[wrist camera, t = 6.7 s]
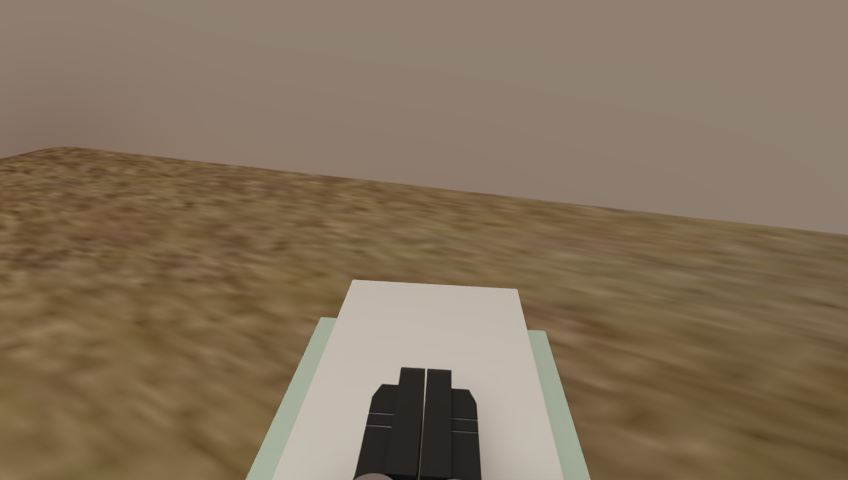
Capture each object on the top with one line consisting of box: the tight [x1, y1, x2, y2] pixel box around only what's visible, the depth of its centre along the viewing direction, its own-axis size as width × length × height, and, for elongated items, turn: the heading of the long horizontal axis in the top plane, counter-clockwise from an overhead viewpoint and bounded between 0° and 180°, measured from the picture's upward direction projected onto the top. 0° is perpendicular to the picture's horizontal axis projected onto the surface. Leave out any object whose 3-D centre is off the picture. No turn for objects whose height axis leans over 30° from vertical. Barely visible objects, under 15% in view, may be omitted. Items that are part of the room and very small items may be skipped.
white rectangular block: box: [272, 280, 564, 480], centre depth 22 cm, size 3×10×14 cm
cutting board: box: [246, 317, 590, 480], centre depth 19 cm, size 20×14×1 cm
